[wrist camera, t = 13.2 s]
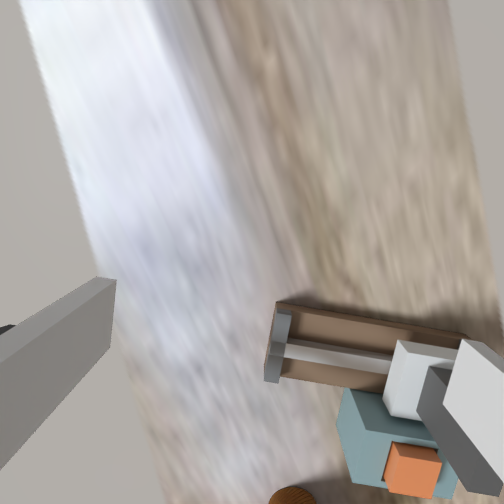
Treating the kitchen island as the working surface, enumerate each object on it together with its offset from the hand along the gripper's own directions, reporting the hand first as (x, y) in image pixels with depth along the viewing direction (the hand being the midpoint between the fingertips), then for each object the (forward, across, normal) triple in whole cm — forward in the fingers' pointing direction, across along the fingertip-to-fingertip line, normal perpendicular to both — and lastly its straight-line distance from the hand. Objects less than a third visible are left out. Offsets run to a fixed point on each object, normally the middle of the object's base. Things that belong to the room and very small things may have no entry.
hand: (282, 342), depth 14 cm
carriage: (+25, +18, -12) cm, 33 cm away
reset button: (+25, +17, -19) cm, 36 cm away
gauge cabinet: (+29, +17, -19) cm, 38 cm away
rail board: (+29, +13, -12) cm, 34 cm away
